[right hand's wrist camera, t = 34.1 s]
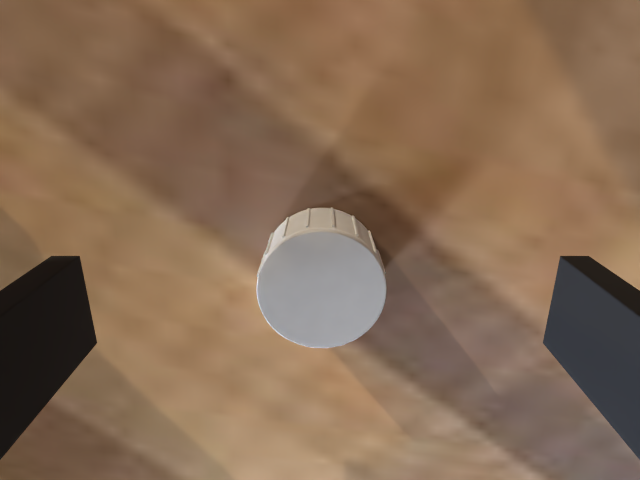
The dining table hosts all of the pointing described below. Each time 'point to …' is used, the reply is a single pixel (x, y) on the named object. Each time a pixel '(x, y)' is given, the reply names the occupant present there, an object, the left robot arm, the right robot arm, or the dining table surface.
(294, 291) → the cap
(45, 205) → the dining table surface
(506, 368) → the dining table surface
